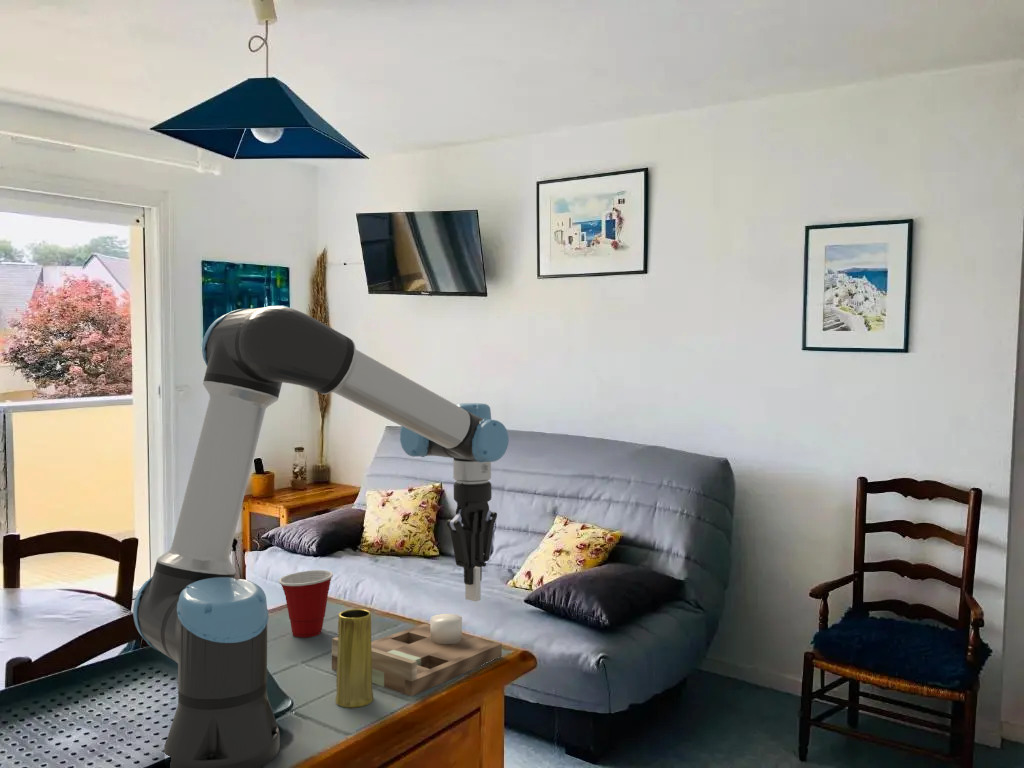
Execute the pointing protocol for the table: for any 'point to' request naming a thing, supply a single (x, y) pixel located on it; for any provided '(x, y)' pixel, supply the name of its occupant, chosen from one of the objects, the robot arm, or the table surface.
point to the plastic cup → (306, 600)
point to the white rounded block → (446, 629)
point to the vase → (354, 659)
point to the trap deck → (423, 659)
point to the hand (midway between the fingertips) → (472, 599)
